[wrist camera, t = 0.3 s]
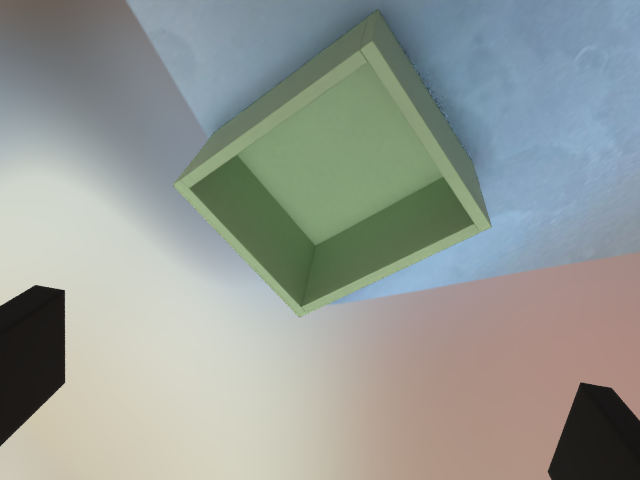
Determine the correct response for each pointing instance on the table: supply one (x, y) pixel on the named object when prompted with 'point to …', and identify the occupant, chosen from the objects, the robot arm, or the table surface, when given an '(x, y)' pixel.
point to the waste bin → (338, 174)
